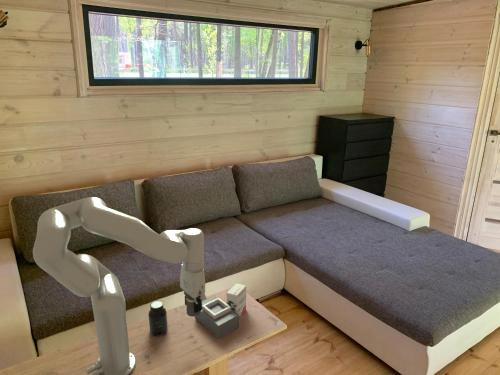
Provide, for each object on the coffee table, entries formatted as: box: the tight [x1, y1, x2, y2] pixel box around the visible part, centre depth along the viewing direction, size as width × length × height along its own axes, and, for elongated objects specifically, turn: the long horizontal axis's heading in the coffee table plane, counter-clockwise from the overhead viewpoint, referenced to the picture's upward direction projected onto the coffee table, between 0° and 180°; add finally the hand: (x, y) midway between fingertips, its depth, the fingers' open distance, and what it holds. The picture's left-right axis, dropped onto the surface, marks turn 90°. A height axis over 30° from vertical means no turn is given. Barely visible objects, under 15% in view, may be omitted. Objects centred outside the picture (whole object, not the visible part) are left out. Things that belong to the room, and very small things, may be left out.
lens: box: [185, 293, 200, 318], centre depth 135 cm, size 5×5×8 cm
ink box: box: [226, 282, 247, 318], centre depth 155 cm, size 8×5×12 cm, turn 152°
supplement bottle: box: [147, 300, 169, 337], centre depth 144 cm, size 7×7×12 cm
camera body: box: [194, 295, 240, 339], centre depth 149 cm, size 16×10×8 cm, turn 42°
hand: (193, 306), depth 136 cm, fingers closed on lens, 5 cm apart
